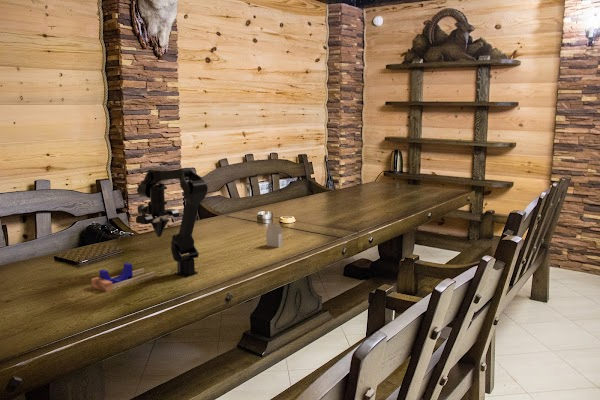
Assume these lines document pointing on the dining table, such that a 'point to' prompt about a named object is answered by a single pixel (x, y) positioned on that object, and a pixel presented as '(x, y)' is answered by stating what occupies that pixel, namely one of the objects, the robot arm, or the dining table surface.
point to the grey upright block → (274, 236)
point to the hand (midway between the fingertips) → (159, 236)
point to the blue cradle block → (123, 276)
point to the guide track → (108, 285)
